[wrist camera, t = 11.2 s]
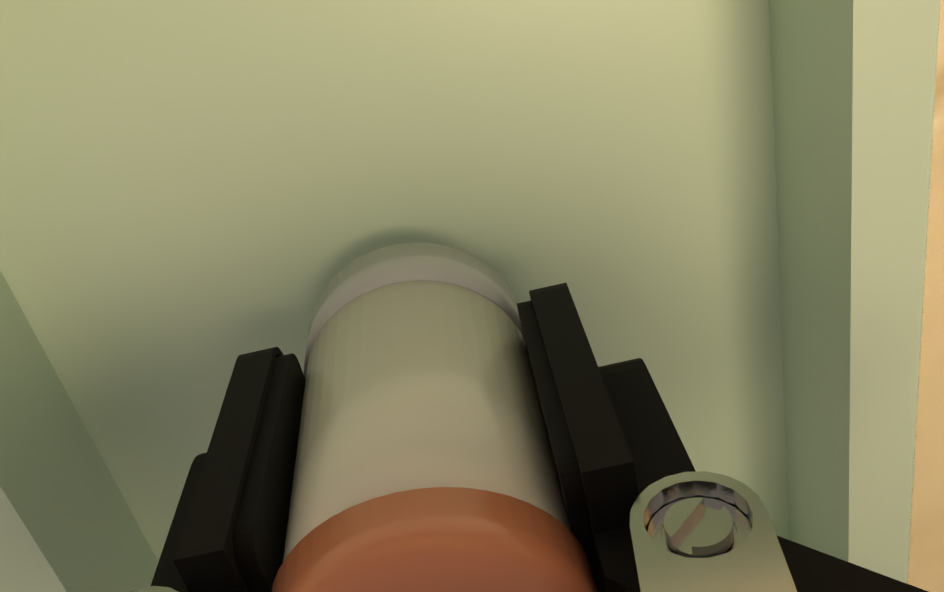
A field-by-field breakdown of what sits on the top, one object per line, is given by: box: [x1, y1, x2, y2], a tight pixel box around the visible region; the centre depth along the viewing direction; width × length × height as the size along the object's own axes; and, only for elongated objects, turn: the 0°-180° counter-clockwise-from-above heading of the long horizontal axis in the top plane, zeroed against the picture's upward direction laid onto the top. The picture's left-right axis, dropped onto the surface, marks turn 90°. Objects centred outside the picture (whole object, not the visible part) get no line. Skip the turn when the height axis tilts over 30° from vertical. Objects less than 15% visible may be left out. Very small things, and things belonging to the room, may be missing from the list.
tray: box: [0, 0, 940, 592], centre depth 13 cm, size 16×14×3 cm
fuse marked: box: [271, 243, 598, 592], centre depth 10 cm, size 3×3×8 cm
